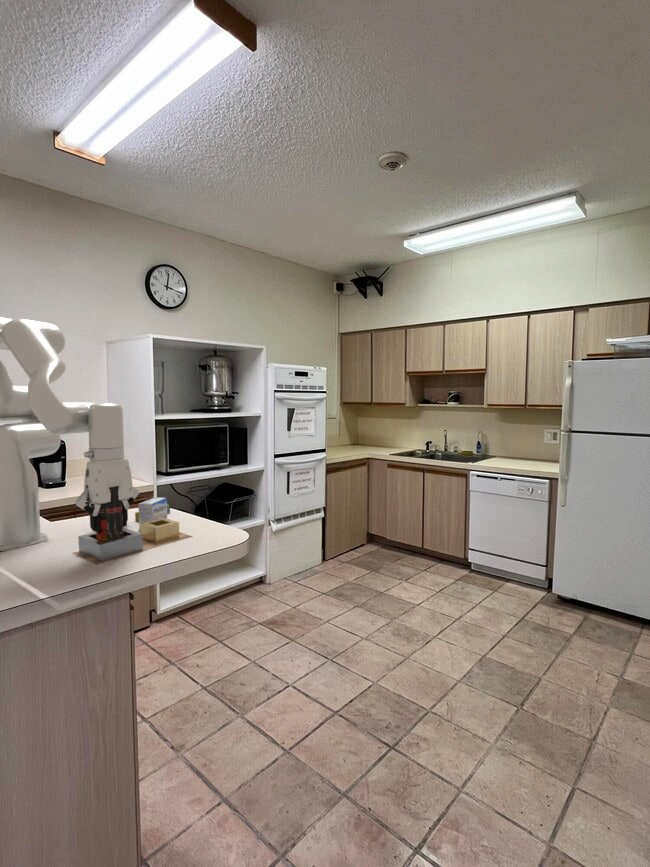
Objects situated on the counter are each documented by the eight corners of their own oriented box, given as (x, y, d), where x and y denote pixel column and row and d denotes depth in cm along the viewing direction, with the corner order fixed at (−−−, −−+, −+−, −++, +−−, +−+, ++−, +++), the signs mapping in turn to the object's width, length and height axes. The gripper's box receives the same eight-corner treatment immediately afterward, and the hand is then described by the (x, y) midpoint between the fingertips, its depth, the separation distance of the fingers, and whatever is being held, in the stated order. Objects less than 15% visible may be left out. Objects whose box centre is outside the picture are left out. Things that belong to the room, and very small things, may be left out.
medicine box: (153, 534, 131) (152, 503, 131) (138, 533, 132) (137, 503, 131) (168, 526, 139) (167, 497, 138) (154, 525, 140) (153, 496, 139)
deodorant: (127, 545, 114) (125, 485, 113) (101, 551, 110) (99, 488, 109) (118, 540, 118) (116, 481, 117) (93, 545, 114) (91, 485, 113)
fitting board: (72, 557, 113) (72, 553, 113) (166, 531, 133) (166, 528, 133) (97, 568, 106) (96, 564, 105) (192, 539, 126) (192, 536, 126)
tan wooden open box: (141, 538, 124) (140, 523, 124) (164, 532, 130) (163, 517, 129) (156, 543, 120) (155, 528, 120) (179, 536, 125) (178, 522, 125)
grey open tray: (79, 552, 113) (78, 536, 113) (120, 541, 122) (119, 526, 121) (100, 561, 107) (99, 544, 107) (142, 549, 115) (142, 533, 115)
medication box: (164, 515, 152) (164, 503, 151) (171, 516, 150) (170, 504, 150) (135, 525, 141) (134, 512, 140) (141, 526, 140) (140, 512, 139)
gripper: (77, 460, 103) (80, 539, 105) (148, 452, 117) (150, 523, 118) (62, 457, 108) (65, 533, 109) (132, 449, 121) (134, 517, 123)
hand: (109, 527), depth 114 cm, fingers closed on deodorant, 5 cm apart
